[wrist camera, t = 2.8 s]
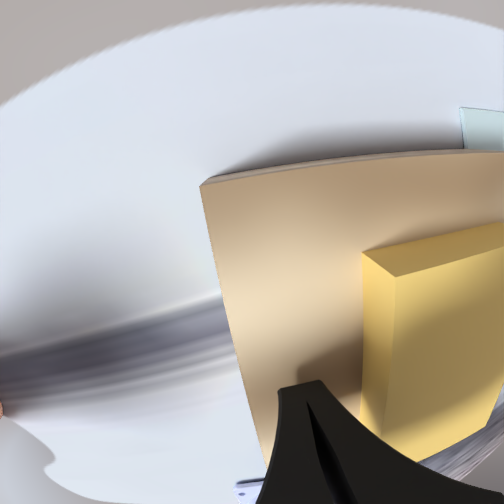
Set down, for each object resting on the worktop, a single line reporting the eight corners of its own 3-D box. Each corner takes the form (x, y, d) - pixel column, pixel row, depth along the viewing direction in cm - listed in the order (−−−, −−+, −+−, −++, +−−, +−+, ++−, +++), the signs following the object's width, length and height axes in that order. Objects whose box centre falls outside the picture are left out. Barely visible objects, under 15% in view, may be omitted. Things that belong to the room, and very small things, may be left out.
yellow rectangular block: (464, 402, 11) (485, 426, 9) (356, 447, 11) (370, 480, 9) (498, 221, 9) (537, 235, 7) (361, 252, 8) (395, 277, 6)
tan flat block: (446, 380, 16) (478, 417, 12) (264, 436, 15) (273, 491, 12) (464, 148, 12) (524, 152, 8) (208, 177, 11) (199, 186, 8)
